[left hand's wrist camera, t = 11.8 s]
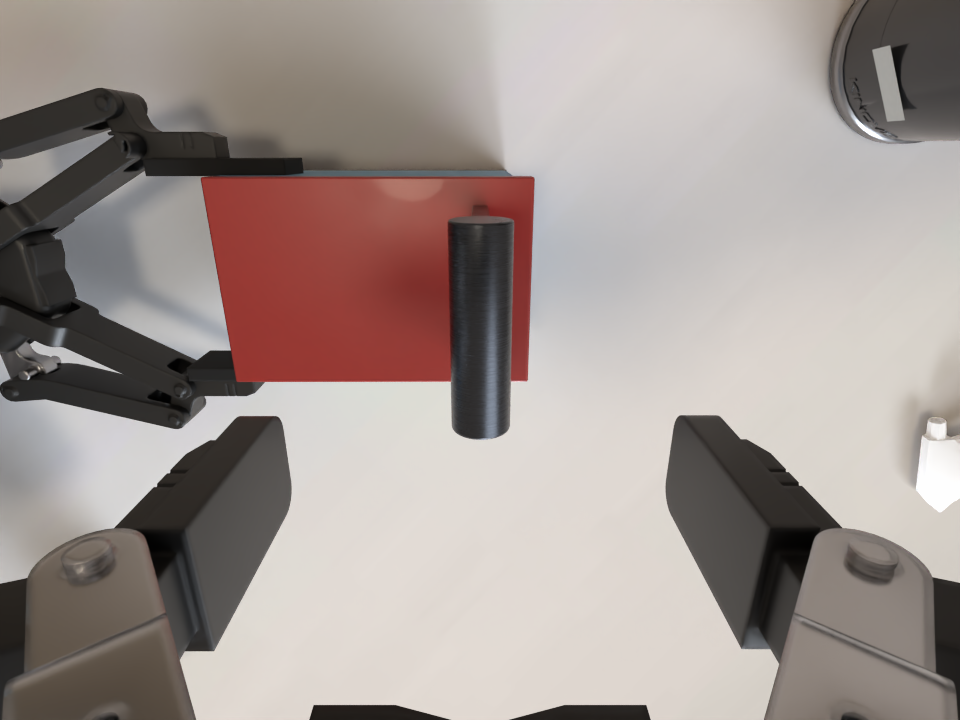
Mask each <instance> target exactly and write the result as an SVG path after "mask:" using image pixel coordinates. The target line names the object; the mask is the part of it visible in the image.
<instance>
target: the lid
mask: <svg viewBox="0 0 960 720" xmlns="http://www.w3.org/2000/svg"><path fill="white" fill-rule="evenodd" d="M201 183H202V188H203V194H204V200H205V205H206V211H207V217H208V222H209V228H210V234H211V240H212V245H213V251H214V257H215V262H216V268H217V274H218V279H219V285H220V291H221V296H222V302H223V308H224V313H225V319H226V325H227V330H228V336H229V342H230V347H231V353H232V359H233V364H234V370H235V376H236V381H237V382H451V407H452V428H453V430H454V431H455V432H456V433H457V434H459V435H460V436H463V437H466V438H469V439H477V440H485V439H492V438H496V437H499V436H501V435H503V434H505V433H506V432H507V431H508V429H509V427H510V389H511V381H527V380H528V355H529V326H530V297H531V267H532V238H533V209H534V177H532V176H208V177H202V178H201Z"/></svg>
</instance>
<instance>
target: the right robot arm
mask: <svg viewBox="0 0 960 720" xmlns="http://www.w3.org/2000/svg"><path fill="white" fill-rule="evenodd" d="M147 110H148V108H147V104H146V102H145V101H144V99H143V98H142V97H141V96H139V95H137V94H134V93H129V92H123V91H117V90H111V89H105V88H96V89H93V90H90V91H87V92H84V93H81V94H78V95H75V96H72V97H69V98H65V99H62V100H59V101H56V102H53V103H50V104H47V105H44V106H41V107H38V108H35V109H32V110H29V111H26V112H23V113H20V114H17V115H13V116H10V117H7V118H4V119H1V120H0V169H1V168H2V166H3V163H2V161H1V159H16V158H21V157H25V156H29V155H32V154H35V153H38V152H42V151H45V150H48V149H51V148H54V147H57V146H60V145H64V144H67V143H70V142H73V141H76V140H79V139H82V138H86V137H89V136H92V135H95V134H98V133H101V132H104V131H108V130H111V132H108V134H109V135H114V136H113V137H112V138H111V139H109V140H108V141H106V142H105V143H103V144H102V145H101V146H99V147H98V148H96V149H95V150H93V151H92V152H90V153H89V154H88V155H86V156H85V157H83V158H82V159H80V160H79V161H77V162H76V163H75V164H73V165H72V166H70V167H69V168H67V169H66V170H64V171H63V172H62V173H60V174H59V175H57V176H56V177H54V178H53V179H52V180H50V181H49V182H47V183H46V184H44V185H43V186H41V187H40V188H39V189H37V190H36V191H34V192H33V193H31V194H30V195H28V196H27V197H26V198H24V199H23V200H21V201H19V202H17V203H14V204H11V205H9V204H7V203H6V202H4V201H2V200H1V199H0V354H1V357H2V359H3V361H4V364H5V366H6V368H7V371H8V373H9V375H10V378H11V379H9V380H7V381H5V382H3V383H2V384H1V385H0V392H1V394H2V395H3V397H5V398H6V399H7V400H10V401H15V402H16V401H29V400H42V399H46V400H51V401H55V402H60V403H64V404H68V405H73V406H77V407H81V408H86V409H90V410H94V411H99V412H103V413H108V414H112V415H116V416H121V417H125V418H129V419H134V420H138V421H142V422H147V423H151V424H156V425H160V426H164V427H169V428H173V429H180V428H182V427H183V426H184V425H185V424H186V423H188V422H189V421H190V420H191V419H192V418H193V417H194V416H195V415H196V414H198V413H199V412H200V411H201V410H202V409H203V408H204V407H205V405H206V399H205V397H204V396H248V395H250V394H253V393H255V392H256V391H257V390H258V389H259V388H260V387H261V386H262V385H263V384H264V383H265V382H237V381H236V376H235V370H234V364H233V359H232V353H231V351H209V352H208V353H206V354H205V355H204V356H202V357H201V358H200V359H198V360H195V359H193V358H191V357H189V356H186V355H184V354H182V353H180V352H178V351H176V350H174V349H171V348H169V347H167V346H165V345H163V344H161V343H159V342H156V341H154V340H152V339H150V338H148V337H146V336H144V335H141V334H139V333H137V332H135V331H133V330H131V329H129V328H126V327H124V326H122V325H120V324H118V323H116V322H114V321H111V320H109V319H107V318H105V317H103V316H101V315H100V314H99V311H98V309H96V308H95V307H93V306H91V305H88V304H86V303H84V302H82V301H80V300H78V299H76V298H75V297H77V296H76V292H75V289H74V285H73V282H72V280H71V279H70V277H69V275H68V273H67V271H66V269H65V252H64V249H63V245H62V241H61V240H55V238H54V236H53V235H54V234H56V233H57V232H59V231H60V230H62V229H63V228H65V227H66V226H68V225H69V224H71V223H72V222H73V221H74V220H75V219H74V218H75V217H76V216H78V215H79V214H81V213H82V212H84V211H85V210H87V209H88V208H90V207H91V206H93V205H94V204H96V203H97V202H99V201H100V200H102V199H103V198H105V197H106V196H108V195H109V194H110V193H112V192H113V191H115V190H116V189H118V188H119V187H121V186H122V185H124V184H125V183H127V182H128V181H130V180H131V179H133V178H134V177H136V176H137V175H139V174H140V173H142V172H143V171H145V173H146V176H219V175H293V174H301V173H303V164H302V158H230V156H229V150H228V143H227V137H225V136H222V135H220V134H217V133H210V132H162V131H159V130H158V129H156V128H155V127H154V126H153V124H152V123H151V121H150V120H149V118H148V116H147ZM34 341H37V342H39V343H41V344H43V345H46V346H50V347H64V348H66V349H69V350H71V351H73V352H75V353H78V354H80V355H82V356H84V357H86V358H89V359H91V360H93V361H95V362H97V363H100V364H102V365H104V366H106V367H109V368H111V369H113V370H115V371H117V372H120V373H122V374H119V373H115V372H111V371H107V370H103V369H98V368H94V367H90V366H86V365H80V364H73V363H61V360H60V358H59V357H57V356H52V357H49V356H46V355H40V354H38V353H36V352H35V351H34V350H33V349H32V348H31V346H30V344H31V343H32V342H34Z"/></svg>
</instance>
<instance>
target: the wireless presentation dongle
mask: <svg viewBox="0 0 960 720" xmlns="http://www.w3.org/2000/svg"><path fill="white" fill-rule="evenodd" d="M916 490H917V491H918V492H919V494H920V495H921V496H922V497H923V498H924V499H925V501H926V502H927V503H929V504H930V505H931V506H932V507H934V508H935V509H936V510H937V511H939V512H942V511H943V510H944V509H945V508H946V507H948V506H949V505H950V504H951V503H952V502H954V501H956V500H958V499H960V435H957V436H953V437H950V436H948V435H947V420H945V419H943V418H941V417H931V418H929V419H928V423H927V431H926V434H924V435H922V440H921V449H920V458H919V467H918V476H917V485H916Z"/></svg>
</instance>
